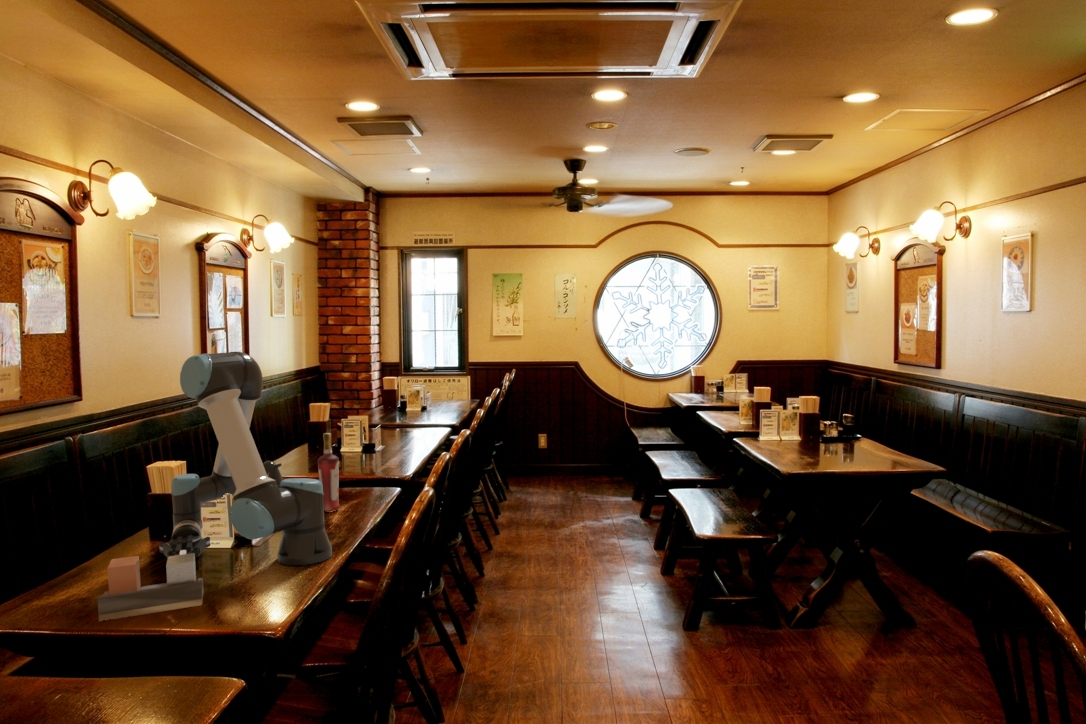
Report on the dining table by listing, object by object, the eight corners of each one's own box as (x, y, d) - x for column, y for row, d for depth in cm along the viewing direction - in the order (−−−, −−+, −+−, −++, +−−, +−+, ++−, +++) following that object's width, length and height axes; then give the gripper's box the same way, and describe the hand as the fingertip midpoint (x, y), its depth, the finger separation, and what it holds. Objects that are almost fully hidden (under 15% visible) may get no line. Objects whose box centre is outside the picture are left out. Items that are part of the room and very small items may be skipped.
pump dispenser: (275, 504, 275) (273, 464, 274) (250, 503, 277) (248, 463, 276) (290, 497, 285) (288, 458, 284) (265, 496, 287) (263, 457, 286)
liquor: (323, 508, 268) (320, 431, 266) (343, 507, 268) (340, 431, 266) (316, 513, 261) (313, 435, 259) (337, 513, 261) (334, 435, 259)
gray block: (170, 591, 187) (168, 556, 186) (196, 587, 189) (194, 552, 189) (168, 601, 180) (166, 565, 180) (195, 596, 183) (193, 561, 182)
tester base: (105, 605, 182) (104, 584, 182) (203, 590, 191) (202, 570, 190) (99, 621, 173) (97, 598, 173) (202, 604, 182) (200, 583, 181)
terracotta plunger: (113, 594, 186) (111, 559, 185) (140, 590, 188) (138, 555, 187) (109, 604, 179) (107, 568, 178) (137, 600, 181) (135, 564, 181)
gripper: (212, 546, 213) (210, 572, 192) (161, 553, 208) (154, 581, 186) (210, 521, 213) (209, 544, 191) (159, 527, 208) (152, 552, 186)
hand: (182, 562), depth 189 cm, fingers closed
